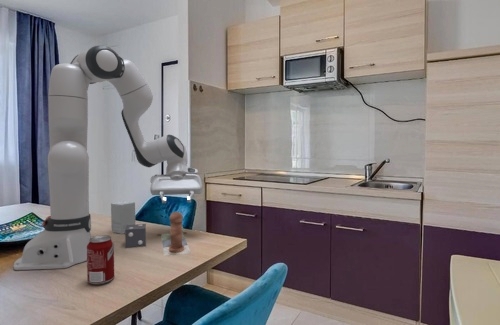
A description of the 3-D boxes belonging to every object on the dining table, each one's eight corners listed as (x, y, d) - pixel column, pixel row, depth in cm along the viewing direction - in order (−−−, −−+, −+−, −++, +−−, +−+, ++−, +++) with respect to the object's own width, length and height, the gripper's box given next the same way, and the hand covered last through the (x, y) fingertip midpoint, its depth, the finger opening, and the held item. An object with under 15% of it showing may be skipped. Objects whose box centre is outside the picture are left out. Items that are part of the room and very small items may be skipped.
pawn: (169, 253, 107) (169, 213, 106) (168, 248, 112) (168, 210, 111) (184, 251, 108) (184, 212, 108) (183, 247, 113) (182, 209, 113)
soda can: (103, 287, 82) (102, 242, 81) (81, 284, 83) (80, 241, 82) (119, 276, 88) (118, 235, 88) (98, 274, 90) (97, 234, 89)
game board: (159, 257, 103) (159, 256, 103) (157, 234, 130) (157, 234, 130) (195, 253, 107) (195, 253, 107) (186, 232, 134) (186, 231, 134)
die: (125, 248, 112) (125, 229, 112) (126, 243, 119) (126, 224, 118) (145, 247, 114) (145, 228, 114) (145, 241, 121) (145, 223, 121)
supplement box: (136, 230, 137) (135, 202, 136) (121, 234, 130) (120, 204, 130) (125, 227, 141) (125, 200, 140) (110, 231, 134) (110, 203, 134)
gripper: (150, 170, 124) (147, 198, 115) (201, 169, 128) (203, 196, 119) (151, 179, 128) (149, 207, 119) (201, 178, 133) (202, 205, 124)
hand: (176, 202), depth 119 cm, fingers open, 8 cm apart
